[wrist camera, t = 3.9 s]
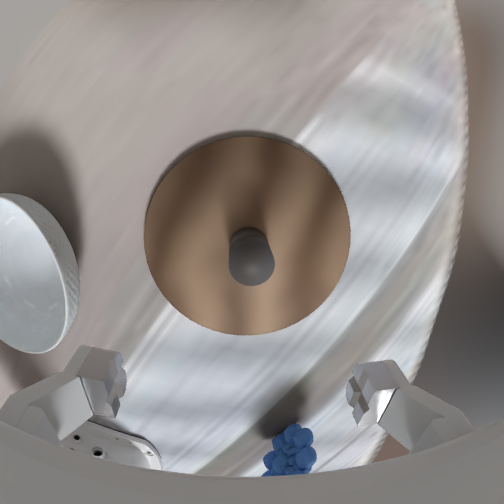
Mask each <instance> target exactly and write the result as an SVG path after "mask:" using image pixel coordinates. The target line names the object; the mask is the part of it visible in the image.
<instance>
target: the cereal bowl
mask: <svg viewBox="0 0 504 504" xmlns="http://www.w3.org/2000/svg"><path fill="white" fill-rule="evenodd" d="M79 298H80V279H79V272H78V266H77V262H76V258H75V254H74V252H73V249H72V246H71V244H70V242H69V240H68V238H67V236H66V234H65V233H64V231H63V229H62V227H61V226H60V224H59V223H58V222H57V220H56V219H55V218H54V216H52V215H51V213H50V212H49V211H48V210H46V208H44V207H43V206H42V205H41V204H39V203H38V202H36V201H34V200H33V199H30V198H29V197H26V196H23V195H18V194H12V193H2V194H0V339H1V340H2V341H3V342H5V343H6V344H7V345H9V346H11V347H13V348H15V349H17V350H19V351H22V352H26V353H33V354H38V353H45V352H47V351H50V350H52V349H53V348H54V347H56V346H57V345H58V344H59V343H60V342H61V340H62V339H63V338H64V336H65V334H66V333H67V332H68V330H69V328H70V326H71V324H72V323H73V320H74V318H75V315H76V312H77V308H78V305H79Z"/></svg>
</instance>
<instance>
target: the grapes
mask: <svg viewBox="0 0 504 504" xmlns="http://www.w3.org/2000/svg"><path fill="white" fill-rule="evenodd" d="M312 443H313V434H312V431H311V430H310V429H309V428H303V429H302V427H301V426H300V425H299V424H296V423H294V424H291V425H289V426H288V427H287V428H286V429H285V431H284V433H283V432H282V433H280V434H278V435H277V436H276V437H275V438H274V439H273V440H272V444H273V447H274V450H273V451H270V452H269V453H268V454H266V455H265V457H264V458H263V461H264V464H265V467H266V468H267V469H269V470H268V471H266V472H265V473H264V474H263V475H262V476H261V477H267V476H287V475H300V474H309V472H310V471H311V469H312V465H313V464H314V463H315V462H316V459H317V454H316V451H315V449H314V448H313V447H310V446H311V444H312Z"/></svg>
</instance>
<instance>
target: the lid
mask: <svg viewBox="0 0 504 504" xmlns="http://www.w3.org/2000/svg"><path fill="white" fill-rule="evenodd" d="M350 231H351V230H350V221H349V215H348V211H347V207H346V204H345V201H344V199H343V197H342V194H341V192H340V190H339V188H338V187H337V185H336V183H335V182H334V180H333V179H332V178H331V176H330V175H329V174H328V173H327V171H326V170H325V169H324V168H323V167H322V166H321V165H320V164H319V163H318V162H317V161H316V160H314V159H313V158H312V157H310V156H309V155H307V154H306V153H304V152H303V151H301V150H299V149H297V148H295V147H293V146H291V145H289V144H286V143H283V142H280V141H277V140H273V139H268V138H263V137H248V136H246V137H234V138H228V139H224V140H220V141H216V142H214V143H211V144H208V145H206V146H203V147H201V148H200V149H198V150H196V151H194V152H192V153H190V154H189V155H188V156H186V157H185V158H184V159H182V160H181V161H180V162H179V163H177V164H176V165H175V166H174V167H173V168H172V169H171V170H170V171H169V173H168V174H167V175H166V176H165V178H164V179H163V180H162V182H161V183H160V185H159V186H158V188H157V190H156V192H155V194H154V195H153V198H152V200H151V203H150V205H149V208H148V212H147V216H146V220H145V229H144V247H145V254H146V259H147V263H148V266H149V269H150V272H151V275H152V277H153V279H154V281H155V283H156V285H157V286H158V288H159V289H160V291H161V292H162V294H163V295H164V297H165V298H166V299H167V300H168V301H169V302H170V303H171V305H172V306H174V307H175V308H176V309H177V310H178V311H179V312H180V313H181V314H183V315H184V316H186V317H187V318H189V319H190V320H192V321H194V322H195V323H197V324H199V325H201V326H203V327H206V328H209V329H211V330H214V331H218V332H222V333H226V334H233V335H259V334H266V333H270V332H275V331H278V330H281V329H284V328H287V327H289V326H291V325H293V324H295V323H297V322H299V321H300V320H302V319H304V318H305V317H307V316H308V315H310V314H311V313H312V312H313V311H315V310H316V309H317V308H318V307H319V306H320V305H321V304H322V303H323V302H324V301H325V300H326V299H327V298H328V296H329V295H330V294H331V292H332V291H333V290H334V288H335V286H336V285H337V283H338V281H339V280H340V278H341V275H342V273H343V271H344V268H345V265H346V262H347V259H348V255H349V248H350Z"/></svg>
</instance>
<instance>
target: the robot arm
mask: <svg viewBox="0 0 504 504" xmlns="http://www.w3.org/2000/svg"><path fill="white" fill-rule="evenodd" d="M122 363H123V358H122V354H121V353H120V352H116V351H110V350H105V349H100V348H96V347H90V346H85V345H81V346H80V347H79V348H78V349H77V351H76V352H75V354H74V355H73V357H72V358H71V360H70V362H69V363H68V365H67V366H66V368H65V369H64V371H63V373H62V372H57V373H55V374H53V375H51V376H49V377H47V378H45V379H43V380H41V381H39V382H37V383H35V384H33V385H31V386H29V387H26V388H24V389H22V390H20V391H18V392H16V393H14V394H12V395H10V396H9V398H8V399H7V401H6V402H5V404H4V405H3V407H2V408H1V410H0V504H504V417H502V418H500V419H498V420H496V421H494V422H492V423H490V424H488V425H486V426H483V427H481V428H479V429H477V430H474V429H473V427H472V426H471V424H470V423H469V421H468V420H467V419H466V417H465V416H464V415H463V413H462V411H461V410H459V409H457V408H455V407H453V406H451V405H450V404H448V403H446V402H444V401H442V400H440V399H438V398H437V397H434V396H433V395H431V394H429V393H427V392H425V391H423V390H422V389H420V388H418V387H416V386H411V384H410V383H409V381H408V380H407V378H406V377H405V375H404V374H403V372H402V371H401V369H400V368H399V366H398V365H397V364H396V362H395V361H394V360H384V361H377V362H365V363H356V364H355V366H354V368H353V370H352V373H353V375H354V376H353V377H352V378H351V379H350V380H349V381H348V384H347V387H346V398H347V401H348V404H349V405H350V406H352V407H353V408H354V410H353V412H352V414H353V416H354V418H355V421H356V423H357V426H361V425H368V424H376V423H378V425H379V426H381V427H382V428H383V429H384V430H385V431H387V432H388V433H389V434H390V435H392V436H393V437H394V438H395V439H396V440H398V441H399V442H400V443H401V444H402V445H404V446H405V447H406V448H407V449H409V450H410V452H409V453H408V454H407V455H404V456H401V457H397V458H394V459H389V460H385V461H382V462H377V463H373V464H368V465H363V466H358V467H352V468H346V469H340V470H334V471H327V472H319V473H310V474H300V475H287V476H267V477H228V476H209V475H196V474H186V473H177V472H169V471H162V461H161V458H160V456H159V454H158V452H157V451H156V449H155V448H154V447H153V446H152V445H151V444H150V443H149V442H147V441H146V440H143V439H140V438H137V437H134V436H130V435H127V434H124V433H121V432H118V431H115V430H112V429H109V428H106V427H103V426H101V425H98V424H95V423H93V422H90V421H87V420H88V419H89V418H90V417H92V416H93V414H96V415H100V416H105V417H110V418H116V415H117V412H118V410H119V407H120V402H119V398H121V397H123V396H124V393H125V390H126V383H127V380H126V372H125V370H124V369H123V368H122V367H121V366H122Z"/></svg>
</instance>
